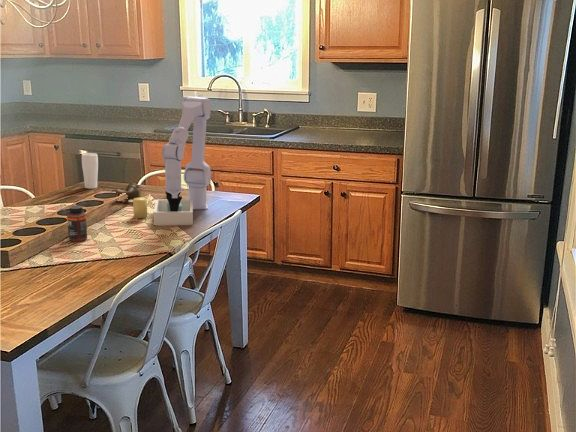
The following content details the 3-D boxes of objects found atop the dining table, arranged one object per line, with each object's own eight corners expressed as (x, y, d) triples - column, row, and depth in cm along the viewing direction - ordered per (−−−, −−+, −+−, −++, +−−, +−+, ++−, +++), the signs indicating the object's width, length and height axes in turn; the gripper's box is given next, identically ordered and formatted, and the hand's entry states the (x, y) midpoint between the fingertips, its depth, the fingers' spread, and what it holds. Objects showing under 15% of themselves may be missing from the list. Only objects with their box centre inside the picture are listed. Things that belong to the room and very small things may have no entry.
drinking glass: (80, 188, 272) (78, 155, 268) (87, 185, 279) (85, 152, 275) (94, 190, 271) (93, 156, 267) (101, 186, 278) (100, 153, 274)
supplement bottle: (89, 236, 211) (87, 204, 208) (84, 242, 205) (82, 209, 202) (71, 236, 211) (69, 204, 208) (66, 242, 205) (64, 208, 202)
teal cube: (167, 216, 234) (167, 203, 232) (180, 215, 235) (180, 202, 234) (167, 219, 229) (167, 206, 228) (181, 219, 230) (181, 206, 229)
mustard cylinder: (134, 215, 237) (133, 197, 236) (147, 215, 238) (147, 197, 236) (133, 219, 233) (132, 200, 231) (146, 219, 233) (146, 200, 232)
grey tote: (156, 211, 243) (156, 199, 242) (192, 211, 245) (192, 199, 244) (153, 225, 226) (153, 212, 224) (192, 225, 228) (192, 212, 227)
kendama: (144, 195, 269) (138, 206, 250) (122, 195, 269) (113, 206, 249) (144, 181, 268) (137, 191, 249) (121, 181, 267) (112, 191, 248)
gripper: (186, 180, 222) (186, 217, 225) (182, 172, 235) (182, 206, 239) (165, 181, 220) (166, 218, 224) (163, 172, 233) (164, 207, 237)
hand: (173, 212), depth 231 cm, fingers open, 5 cm apart
